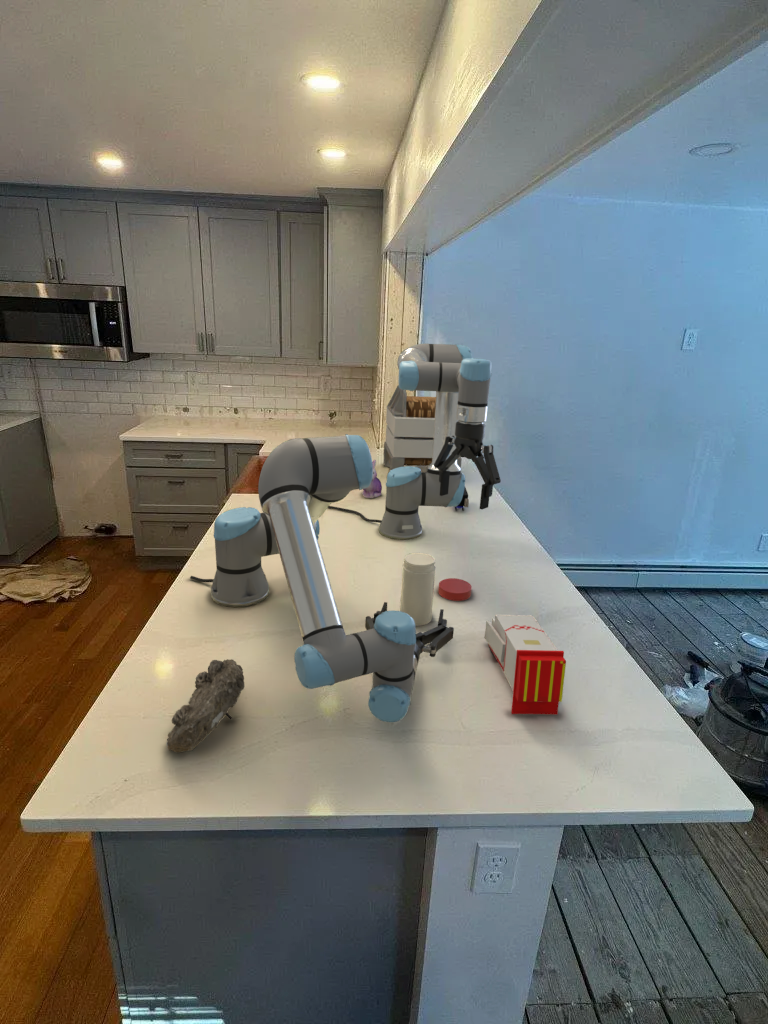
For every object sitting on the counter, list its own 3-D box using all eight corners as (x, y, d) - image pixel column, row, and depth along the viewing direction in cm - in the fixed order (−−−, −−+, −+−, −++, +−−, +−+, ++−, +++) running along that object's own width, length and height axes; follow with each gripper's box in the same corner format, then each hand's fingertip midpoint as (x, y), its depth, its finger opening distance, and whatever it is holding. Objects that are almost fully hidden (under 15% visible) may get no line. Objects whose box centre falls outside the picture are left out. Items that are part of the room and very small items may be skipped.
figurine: (366, 499, 233) (368, 464, 228) (356, 492, 241) (357, 458, 236) (387, 497, 237) (388, 462, 232) (376, 490, 246) (377, 456, 241)
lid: (461, 583, 165) (462, 576, 165) (476, 598, 157) (477, 590, 157) (432, 587, 162) (433, 580, 162) (447, 602, 154) (447, 595, 154)
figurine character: (468, 516, 224) (463, 500, 237) (471, 498, 221) (465, 483, 234) (452, 515, 224) (447, 499, 237) (453, 498, 220) (449, 482, 234)
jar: (401, 625, 142) (405, 565, 136) (397, 609, 150) (401, 551, 144) (433, 625, 143) (438, 565, 137) (428, 609, 151) (433, 552, 145)
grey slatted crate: (382, 463, 289) (386, 382, 275) (445, 464, 293) (451, 384, 279) (390, 482, 257) (394, 392, 243) (460, 483, 261) (468, 394, 247)
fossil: (192, 660, 117) (244, 628, 112) (224, 691, 120) (276, 661, 115) (142, 746, 98) (202, 712, 93) (182, 779, 101) (242, 748, 96)
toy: (530, 600, 137) (574, 657, 108) (525, 651, 140) (567, 720, 111) (480, 599, 137) (511, 656, 107) (477, 651, 139) (506, 719, 110)
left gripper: (340, 667, 120) (362, 617, 139) (459, 685, 116) (464, 631, 136) (341, 637, 117) (363, 590, 137) (462, 653, 113) (466, 603, 133)
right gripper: (424, 415, 149) (419, 492, 157) (503, 432, 133) (493, 517, 140) (443, 412, 154) (437, 487, 162) (521, 428, 138) (510, 511, 145)
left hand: (413, 610), depth 136 cm, fingers open, 13 cm apart
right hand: (463, 501), depth 151 cm, fingers open, 13 cm apart
